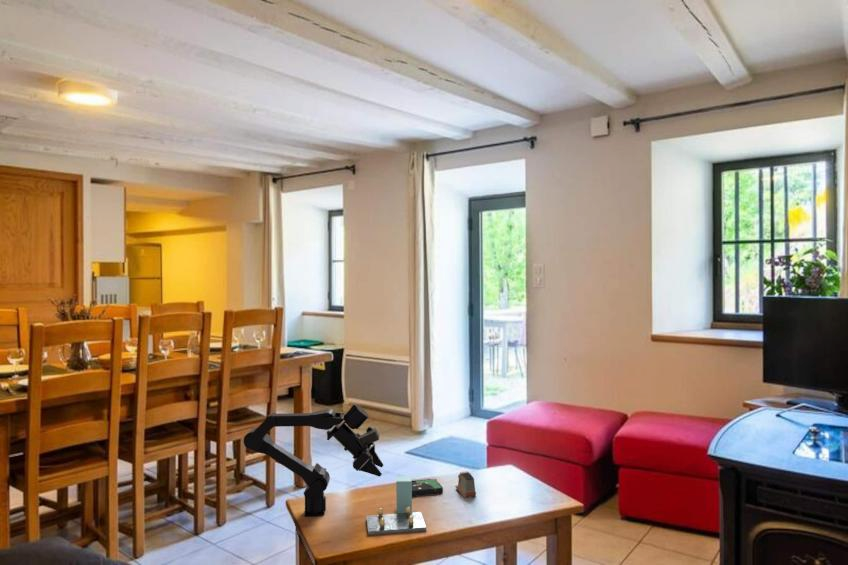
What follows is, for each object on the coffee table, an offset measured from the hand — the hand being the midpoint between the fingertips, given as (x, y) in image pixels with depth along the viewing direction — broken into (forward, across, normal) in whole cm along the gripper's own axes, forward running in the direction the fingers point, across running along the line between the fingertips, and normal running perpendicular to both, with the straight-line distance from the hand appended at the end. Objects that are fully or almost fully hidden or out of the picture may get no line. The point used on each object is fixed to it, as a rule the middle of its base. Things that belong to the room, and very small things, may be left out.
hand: (381, 470), depth 195 cm
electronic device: (+31, +16, -10) cm, 36 cm away
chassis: (+13, -11, +6) cm, 18 cm away
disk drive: (+19, +19, +1) cm, 27 cm away
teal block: (+15, 0, +5) cm, 16 cm away
